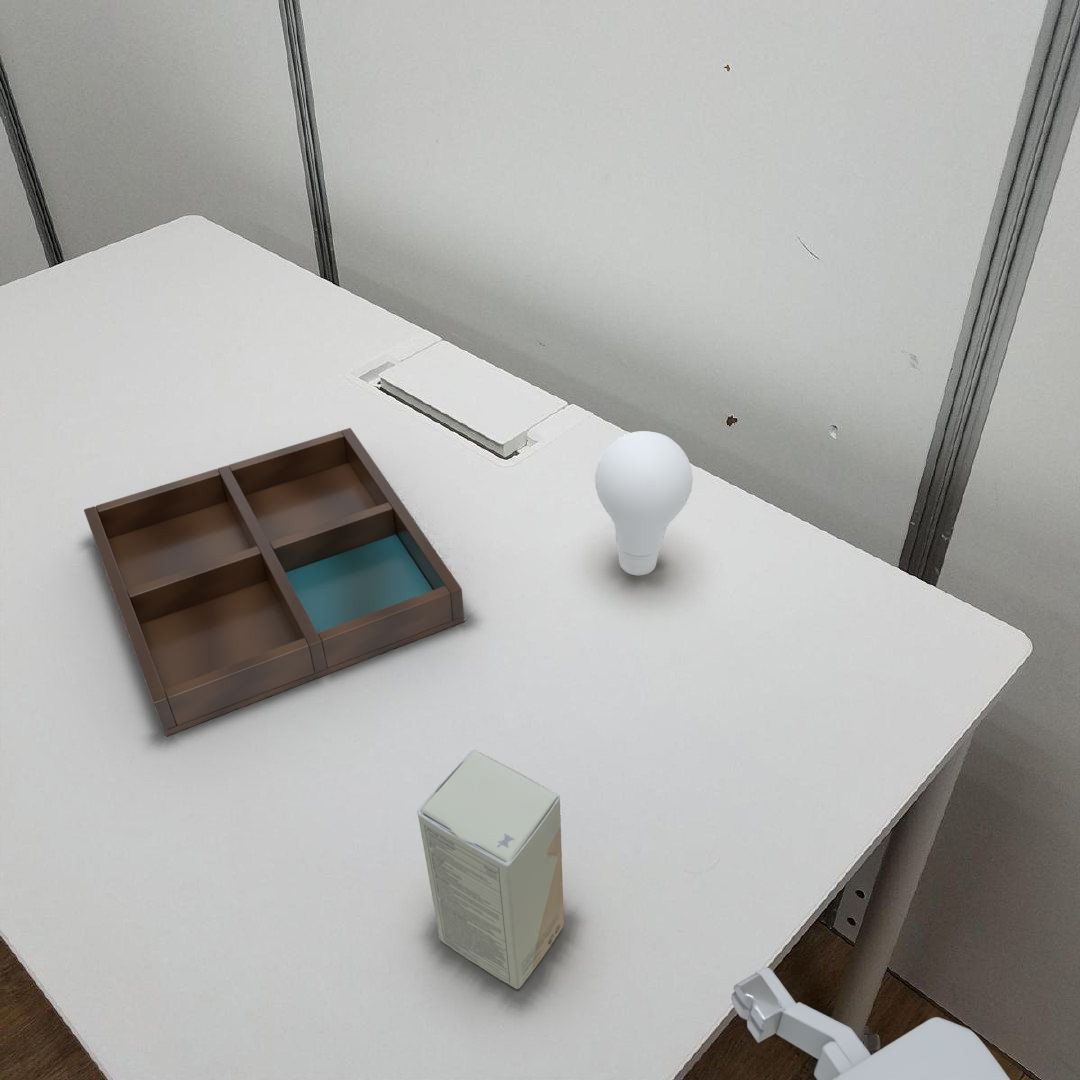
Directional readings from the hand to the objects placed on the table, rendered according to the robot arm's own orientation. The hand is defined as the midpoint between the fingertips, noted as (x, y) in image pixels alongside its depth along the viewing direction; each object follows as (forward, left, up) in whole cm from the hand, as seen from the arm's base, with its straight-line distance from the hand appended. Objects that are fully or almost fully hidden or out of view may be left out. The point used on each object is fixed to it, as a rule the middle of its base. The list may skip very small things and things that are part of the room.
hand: (641, 1042), depth 40 cm
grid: (-2, +42, -12) cm, 44 cm away
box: (0, +12, -12) cm, 17 cm away
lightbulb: (+20, +31, -12) cm, 39 cm away
